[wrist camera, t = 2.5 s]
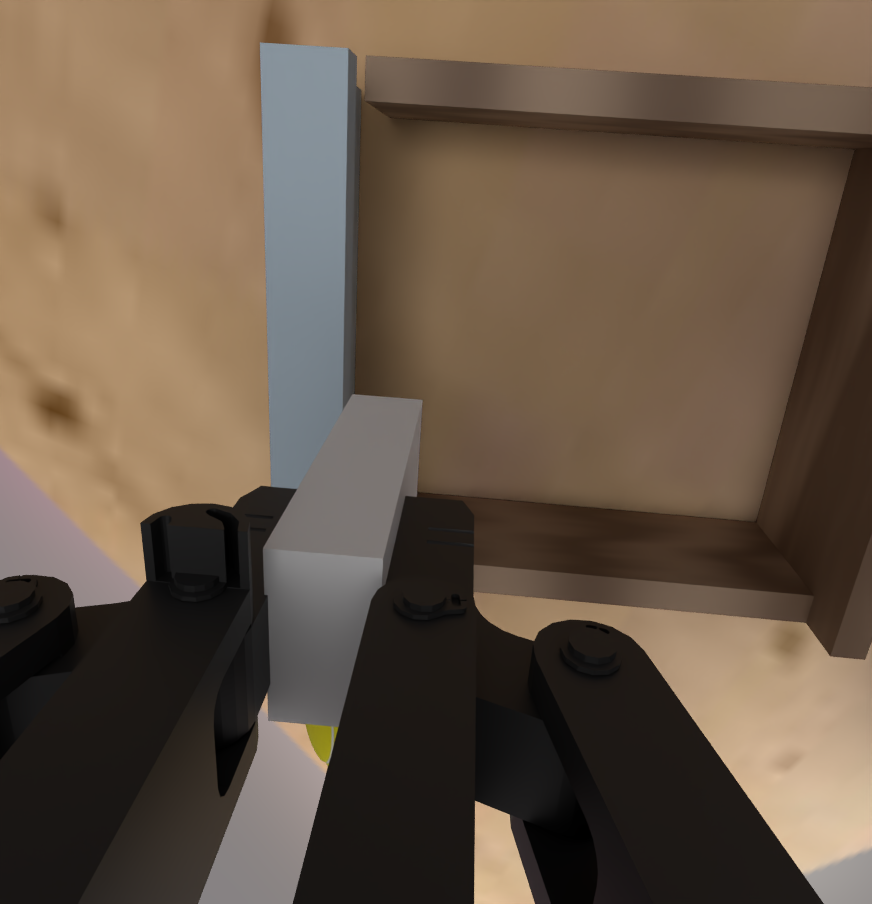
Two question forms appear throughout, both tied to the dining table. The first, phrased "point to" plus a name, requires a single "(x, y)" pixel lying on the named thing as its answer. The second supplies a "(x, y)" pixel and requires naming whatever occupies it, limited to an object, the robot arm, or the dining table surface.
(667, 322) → the dining table surface
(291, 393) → the blue-grey book
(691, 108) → the crate
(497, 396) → the dining table surface
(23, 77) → the dining table surface
